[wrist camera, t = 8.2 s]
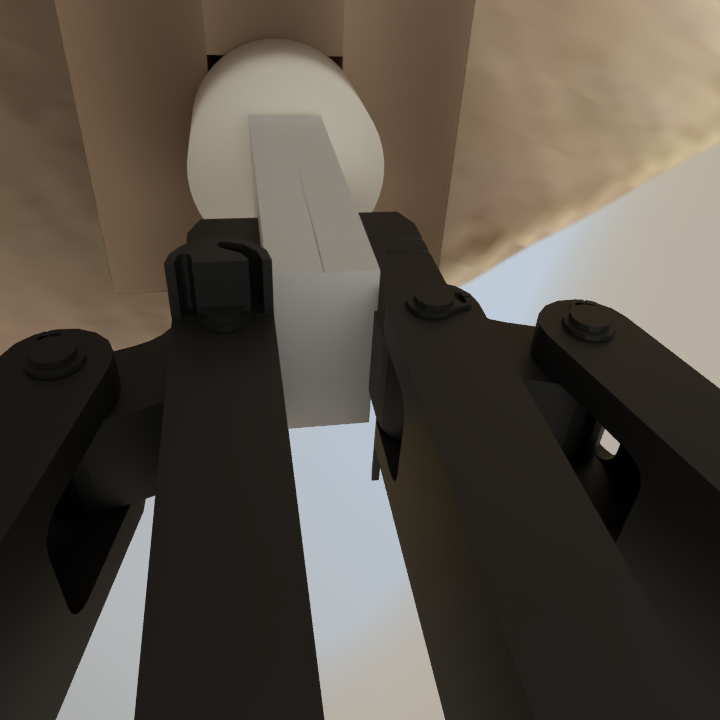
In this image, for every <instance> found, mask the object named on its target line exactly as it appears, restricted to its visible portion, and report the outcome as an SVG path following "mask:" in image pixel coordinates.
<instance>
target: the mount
mask: <svg viewBox="0 0 720 720" xmlns="http://www.w3.org/2000/svg"><path fill="white" fill-rule="evenodd" d="M54 3H55V8H56V13H57V18H58V22H59V27H60V32H61V37H62V42H63V47H64V52H65V56H66V61H67V66H68V71H69V76H70V81H71V85H72V90H73V95H74V100H75V105H76V110H77V115H78V119H79V124H80V129H81V134H82V139H83V144H84V148H85V153H86V158H87V163H88V168H89V173H90V178H91V182H92V187H93V192H94V197H95V202H96V207H97V211H98V216H99V221H100V226H101V231H102V236H103V240H104V245H105V250H106V255H107V260H108V265H109V270H110V274H111V279H112V284H113V289H114V294H126V293H148V292H168V289H167V283H166V276H165V269H164V262H165V260H166V258H167V257H168V255H169V253H171V252H172V251H174V250H175V249H177V248H178V247H180V246H181V245H184V244H186V242H187V233H188V232H189V231H190V230H191V229H192V227H193V226H194V225H195V224H196V223H197V222H198V221H199V220H200V219H203V217H202V215H201V214H200V212H199V211H198V209H197V206H196V204H195V202H194V200H193V197H192V194H191V191H190V187H189V182H188V176H187V157H188V147H189V138H190V129H191V120H192V111H193V105H194V101H195V97H196V94H197V92H198V89H199V87H200V85H201V83H202V81H203V79H204V77H205V76H206V74H207V73H208V72H209V70H210V69H211V68H212V66H213V65H214V57H213V55H226V54H227V53H229V52H230V51H232V50H233V49H235V48H237V47H239V46H241V45H244V44H246V43H249V42H252V41H257V40H262V39H272V38H279V39H289V40H294V41H298V42H302V43H304V44H307V45H309V46H312V47H314V48H315V49H317V50H319V51H321V52H323V53H324V54H325V55H327V56H328V57H329V58H331V59H332V60H333V61H334V62H335V63H336V64H337V65H338V66H339V67H340V68H341V69H342V71H343V72H344V73H345V75H346V76H347V77H348V79H349V81H350V82H351V84H352V86H353V88H354V89H355V91H356V93H357V95H358V96H359V98H360V100H361V102H362V103H363V105H364V107H365V109H366V111H367V112H368V114H369V116H370V118H371V119H372V121H373V123H374V125H375V127H376V129H377V132H378V134H379V137H380V141H381V144H382V148H383V156H384V177H383V184H382V188H381V192H380V196H379V198H378V201H377V203H376V205H375V208H374V209H373V211H372V212H399V213H400V214H402V215H403V216H404V217H406V218H407V219H409V220H410V221H412V222H413V223H415V225H416V227H417V229H418V231H419V233H420V235H421V236H422V241H424V242H425V244H426V246H427V248H428V253H430V254H431V255H432V257H433V259H434V261H435V263H436V265H437V267H438V269H439V262H440V254H441V247H442V240H443V232H444V225H445V218H446V210H447V203H448V195H449V188H450V181H451V173H452V166H453V159H454V151H455V144H456V137H457V129H458V122H459V115H460V107H461V100H462V92H463V85H464V78H465V70H466V63H467V56H468V48H469V41H470V34H471V26H472V19H473V11H474V4H475V0H54Z"/></svg>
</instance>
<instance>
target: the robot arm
mask: <svg viewBox="0 0 720 720" xmlns="http://www.w3.org/2000/svg"><path fill="white" fill-rule="evenodd" d="M249 130H250V149H251V168H252V187H253V205H254V218H223V219H200V220H199V221H198V222H197V223H196V224H195V225H194V226H193V227H192V229H191V230H190V231H189V232H188V233H187V242H186V244H184V245H181V246H180V247H178V248H177V249H175V250H174V251H172V252H171V253H169V255H168V257H167V258H166V260H165V262H164V269H165V276H166V283H167V289H168V296H169V303H170V309H171V316H172V325H171V328H170V329H169V330H168V331H166V332H165V333H164V334H163V335H161V336H159V337H157V338H155V339H153V340H151V341H149V342H145V343H142V344H139V345H136V346H133V347H129V348H125V349H121V350H117V351H113V349H112V347H111V345H110V343H109V341H108V340H107V339H105V338H104V337H102V336H101V335H99V334H97V333H95V332H90V331H86V330H81V329H58V330H51V331H48V332H42V333H39V334H35V335H33V336H31V337H29V338H26V339H24V340H22V341H20V342H18V343H16V344H14V345H13V346H12V347H10V348H9V349H8V350H7V351H6V352H4V353H3V354H2V355H1V356H0V720H55V719H56V718H57V715H58V713H59V710H60V708H61V706H62V703H63V701H64V699H65V696H66V694H67V691H68V689H69V687H70V684H71V682H72V680H73V677H74V675H75V672H76V670H77V668H78V665H79V663H80V661H81V658H82V656H83V653H84V651H85V648H86V646H87V644H88V642H89V639H90V637H91V635H92V632H93V630H94V627H95V625H96V622H97V620H98V618H99V616H100V613H101V611H102V608H103V606H104V604H105V601H106V599H107V596H108V594H109V592H110V589H111V587H112V585H113V582H114V580H115V578H116V575H117V573H118V570H119V568H120V566H121V563H122V561H123V559H124V556H125V554H126V551H127V549H128V547H129V544H130V542H131V540H132V537H133V535H134V532H135V530H136V528H137V525H138V523H139V520H140V518H141V516H142V514H143V511H144V505H145V499H146V498H149V497H152V496H155V506H154V516H153V527H152V538H151V549H150V559H149V569H148V580H147V591H146V601H145V612H144V622H143V633H142V643H141V654H140V664H139V675H138V686H137V696H136V707H135V717H134V720H324V713H323V706H322V698H321V689H320V681H319V673H318V665H317V657H316V649H315V641H314V633H313V625H312V617H311V609H310V601H309V592H308V584H307V577H306V568H305V560H304V552H303V545H302V536H301V528H300V520H299V512H298V504H297V497H296V488H295V480H294V472H293V463H292V455H291V448H290V440H289V431H288V429H289V428H301V427H314V426H326V425H339V424H351V423H364V422H369V412H370V400H372V404H373V407H374V411H375V414H376V429H375V439H374V451H373V463H372V480H379V471H380V468H381V472H382V476H383V480H384V483H385V488H386V491H387V495H388V499H389V503H390V507H391V511H392V514H393V519H394V522H395V526H396V530H397V534H398V538H399V542H400V545H401V549H402V553H403V557H404V561H405V565H406V568H407V573H408V577H409V580H410V584H411V588H412V592H413V596H414V600H415V604H416V608H417V611H418V615H419V619H420V623H421V627H422V631H423V635H424V639H425V643H426V647H427V650H428V654H429V658H430V662H431V666H432V670H433V674H434V678H435V681H436V685H437V689H438V693H439V696H440V701H441V704H442V709H443V712H444V716H445V720H720V389H719V388H718V387H717V386H716V385H714V384H713V383H711V382H710V381H709V380H708V379H706V378H705V377H704V376H702V375H701V374H700V373H698V372H697V371H696V370H695V369H693V368H692V367H691V366H689V365H688V364H687V363H686V362H684V361H683V360H682V359H680V358H679V357H678V356H676V355H675V354H674V353H673V352H671V351H670V350H669V349H667V348H666V347H665V346H663V345H662V344H661V343H659V342H658V341H657V340H656V339H654V338H653V337H652V336H650V335H649V334H648V333H646V332H645V331H644V330H642V329H641V328H640V327H639V326H637V325H636V324H634V323H633V322H632V321H631V320H629V319H628V318H627V317H625V316H624V315H622V314H620V313H619V312H617V311H615V310H613V309H612V308H609V307H606V306H603V305H600V304H598V303H596V302H593V301H588V300H586V301H583V300H576V299H575V300H563V301H556V302H554V303H551V304H549V305H546V306H545V307H544V308H543V309H542V311H541V312H540V313H539V316H538V319H537V323H536V327H535V326H527V325H520V324H513V323H506V322H500V321H496V320H491V319H488V318H487V317H486V315H485V314H484V312H483V310H482V308H481V307H480V305H479V303H478V302H477V301H476V300H475V299H474V298H473V297H472V296H471V295H470V294H469V293H467V292H465V291H464V290H462V289H460V288H458V287H456V286H452V285H448V284H446V282H445V280H444V278H443V276H442V275H441V273H440V271H439V269H438V267H437V265H436V263H435V261H434V259H433V257H432V255H431V254H430V253H428V248H427V246H426V244H425V242H424V241H422V236H421V235H420V233H419V231H418V229H417V227H416V225H415V223H413V222H412V221H410V220H409V219H407V218H406V217H404V216H403V215H402V214H400V213H399V212H361V213H358V211H357V208H356V206H355V203H354V201H353V198H352V195H351V193H350V190H349V188H348V185H347V182H346V180H345V177H344V175H343V172H342V169H341V167H340V164H339V162H338V159H337V156H336V154H335V151H334V149H333V146H332V143H331V141H330V138H329V136H328V133H327V130H326V128H325V125H324V123H323V120H322V117H321V115H269V116H249ZM604 429H606V430H607V431H608V432H609V433H610V434H611V435H612V436H613V437H614V438H615V439H616V440H617V441H618V442H619V443H620V446H619V449H618V451H617V453H616V455H612V454H610V453H609V452H608V451H607V450H606V449H604V448H603V447H602V446H601V444H600V440H601V438H602V435H603V432H604Z"/></svg>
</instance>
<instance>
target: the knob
mask: <svg viewBox="0 0 720 720" xmlns="http://www.w3.org/2000/svg"><path fill="white" fill-rule="evenodd" d="M269 115H321V117H322V120H323V123H324V125H325V128H326V130H327V133H328V136H329V138H330V141H331V143H332V146H333V149H334V151H335V154H336V156H337V159H338V162H339V164H340V167H341V169H342V172H343V175H344V177H345V180H346V182H347V185H348V188H349V190H350V193H351V195H352V198H353V201H354V203H355V206H356V208H357V211H358V213H361V212H372V211H373V209H374V208H375V205H376V203H377V201H378V198H379V196H380V192H381V188H382V184H383V177H384V156H383V148H382V144H381V141H380V137H379V134H378V132H377V129H376V127H375V125H374V123H373V121H372V119H371V118H370V116H369V114H368V112H367V111H366V109H365V107H364V105H363V103H362V102H361V100H360V98H359V96H358V95H357V93H356V91H355V89H354V88H353V86H352V84H351V82H350V81H349V79H348V77H347V76H346V75H345V73H344V72H343V71H342V69H341V68H340V67H339V66H338V65H337V64H336V63H335V62H334V61H333V60H332V59H331V58H329V57H328V56H327V55H325V54H324V53H323V52H321V51H319V50H317V49H315V48H314V47H312V46H309V45H307V44H304V43H302V42H298V41H294V40H289V39H279V38H272V39H262V40H257V41H252V42H249V43H246V44H244V45H241V46H239V47H237V48H235V49H233V50H232V51H230V52H229V53H227V54H226V55H225V56H223V57H222V58H221V59H220V60H219V61H218V62H217V63H215V64H214V65H213V66H212V68H211V69H210V70H209V72H208V73H207V74H206V76H205V77H204V79H203V81H202V83H201V85H200V87H199V89H198V92H197V94H196V97H195V101H194V105H193V111H192V120H191V129H190V138H189V147H188V157H187V176H188V182H189V187H190V191H191V194H192V197H193V200H194V202H195V204H196V206H197V209H198V211H199V212H200V214H201V215H202V217H203V219H223V218H254V205H253V187H252V168H251V149H250V130H249V116H269Z"/></svg>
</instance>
